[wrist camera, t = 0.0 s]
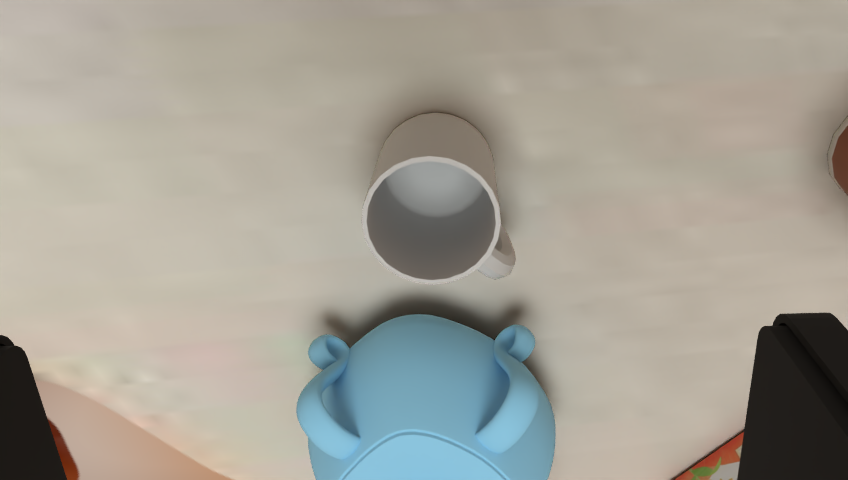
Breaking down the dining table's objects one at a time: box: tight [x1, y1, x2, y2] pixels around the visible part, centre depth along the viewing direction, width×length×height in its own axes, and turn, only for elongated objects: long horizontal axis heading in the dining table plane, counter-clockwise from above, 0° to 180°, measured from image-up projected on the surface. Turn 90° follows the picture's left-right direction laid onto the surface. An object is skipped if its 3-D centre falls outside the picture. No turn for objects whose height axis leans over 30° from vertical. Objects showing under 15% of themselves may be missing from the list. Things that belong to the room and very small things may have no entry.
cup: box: [362, 113, 516, 285], centre depth 43 cm, size 7×10×9 cm
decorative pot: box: [297, 314, 555, 480], centre depth 48 cm, size 16×16×14 cm
